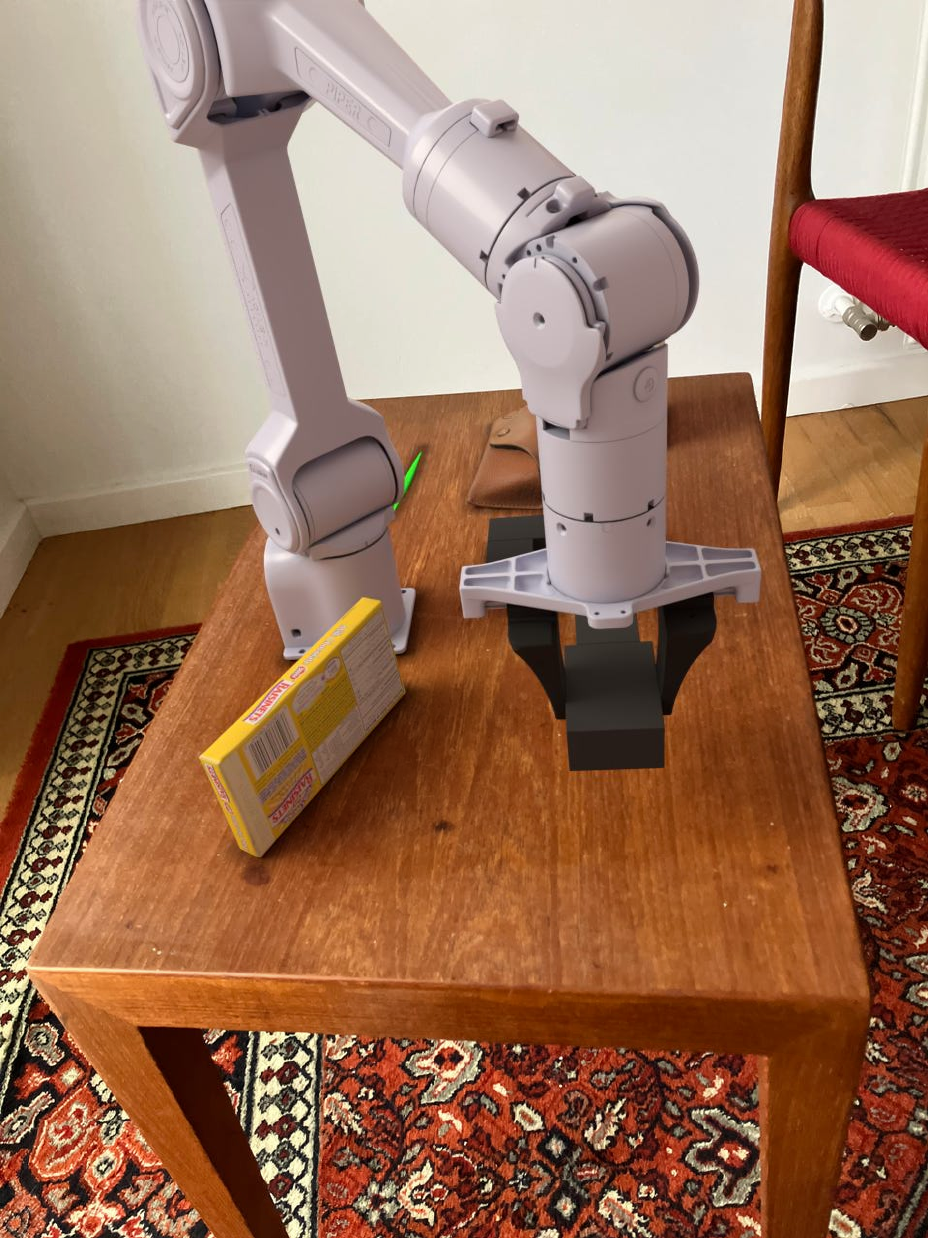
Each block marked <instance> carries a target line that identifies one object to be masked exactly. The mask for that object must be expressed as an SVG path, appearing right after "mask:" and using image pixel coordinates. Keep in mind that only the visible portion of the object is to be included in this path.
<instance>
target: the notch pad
mask: <svg viewBox="0 0 928 1238" xmlns="http://www.w3.org/2000/svg"><path fill="white" fill-rule="evenodd" d="M488 520H489V521H488V530H487V542H486V543H487V544H486V556H485V564H487V563H492V562H496V561H500V560H504V559H508V558H512V557H515V556H519V555H523V554H527V553H530V552H534V551H538V550H542V549H545V548H546V537H545V524H544V514H531V515H518V516H517V515H516V516H504V517H490V518H489V519H488Z"/></svg>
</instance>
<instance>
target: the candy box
mask: <svg viewBox="0 0 928 1238" xmlns="http://www.w3.org/2000/svg"><path fill="white" fill-rule="evenodd" d="M406 693H407V692H406V688H405V685H404V681H403V677H402V674H401V670H400V667H399V663H398V660H397V655H396V654H395V652H394V648H393V644H392V641H391V637H390V633H389V630H388V626H387V622H386V618H385V615H384V611H383V607H382V603H381V601H380V600H375V599H370V598H365V597H362V598H361V599H360V600H359V601H358V602H357V603H356V604H355V605H354V606H353V607H352V608H351V609H350V610H349V611H348V612H347V613H346V614H345V615H344V616H343V617H342V618H341V619H340V620H339V621H338V622H337V623H336V624H335V625H334V626H333V627H332V628H331V629H330V630H329V631H328V632H327V633H326V634H325V635H324V636H323V637H322V638H321V639H320V640H319V641H318V642H317V643H316V644H315V645H314V646H313V647H312V648H311V649H310V650H309V651H308V652H307V653H305V654H304V655H303V656H302V657H301V658H300V659H297V660H296V662H295V663H294V664H293V665H292V666H291V667H289V668H288V670H286V672H285V673H284V674H282V676H281V677H279V678H278V679H277V680H276V682H275V683H273V684H272V685H271V686H270V687H269V688H268V690H267V691H265V692H264V693H263V694H262V695H261V696H260V697H259V698H258V699H257V700H255V702H254V703H252V705H251V706H250V707H249V708H248V709H247V710H246V711H245V712H244V713H243V714H242V715H241V716H240V717H239V718H238V719H236V721H234V722H233V724H231V725H230V726H229V727H228V728H227V729H226V730H225V731H224V732H223V733H222V734H221V735H220V736H219V737H218V738H217V739H216V740H215V741H214V742H213V743H212V744H211V745H210V746H209V747H208V748H207V749H205V750H204V752H203V753H201V754H200V755H199V757H198V758H199V760H200V762H201V765H202V767H203V769H204V772H205V773H206V776H207V778H208V781H209V782H210V785H211V787H212V789H213V791H214V794H215V795H216V798H217V800H218V803H219V804H220V807H221V809H222V811H223V814H224V816H225V817H226V821H227V823H228V825H229V827H230V829H231V831H232V834H233V836H234V838H235V841H236V843H237V845H238V848H239V849H240V850H241V851H243V852H246V853H248V854H249V855H251V856H253V857H255V858H262V857H263V856H264V855H265V853H266V852H267V851H269V849H270V847H272V845H273V844H274V843H275V842H276V841H277V840H278V839H279V838H280V836H281V835H282V834H283V833H285V830H287V828H288V827H289V826H290V825H291V824H292V822H293V821H295V819H296V818H297V817H298V816H299V815H300V814H301V813H302V811H303V810H304V809H305V808H306V806H308V804H309V803H310V802H311V801H312V800H313V799H314V798H315V796H316V795H317V794H318V793H319V792H320V791H321V790H322V788H323V787H324V786H325V785H326V784H327V783H328V782H329V781H330V779H331V778H332V777H333V776H334V775H335V774H336V772H338V770H339V769H340V768H341V767H342V766H343V764H345V762H346V761H347V760H348V759H349V758H350V757H351V756H352V755H353V753H354V752H355V751H356V750H357V749H358V748H359V747H360V745H361V744H362V743H363V742H364V741H365V740H366V739H367V737H368V736H369V735H370V734H371V733H372V732H373V730H375V728H376V727H377V726H378V725H379V724H380V723H381V721H383V719H384V718H385V717H386V716H387V715H388V714H389V713H390V711H391V710H392V709H393V708H394V707H395V706H396V704H397V703H398V702H399V701H400V700H401V699H402V698H403V696H404V695H406Z"/></svg>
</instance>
